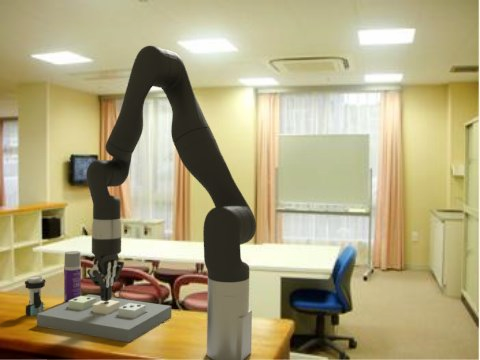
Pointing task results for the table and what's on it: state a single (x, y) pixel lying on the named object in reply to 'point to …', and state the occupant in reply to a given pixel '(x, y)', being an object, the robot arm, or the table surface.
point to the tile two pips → (81, 303)
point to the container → (72, 275)
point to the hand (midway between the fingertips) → (106, 300)
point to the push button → (34, 295)
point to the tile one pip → (106, 307)
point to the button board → (104, 320)
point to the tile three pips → (131, 310)
